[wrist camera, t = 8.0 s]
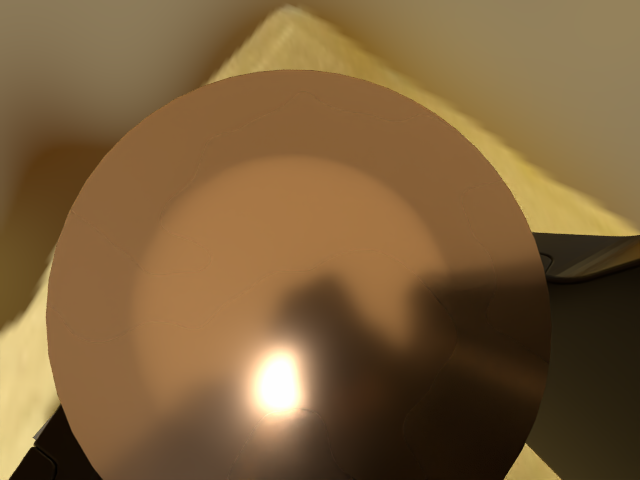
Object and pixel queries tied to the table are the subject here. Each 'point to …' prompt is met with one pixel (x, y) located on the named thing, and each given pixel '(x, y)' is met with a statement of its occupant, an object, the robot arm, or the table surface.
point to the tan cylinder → (297, 293)
